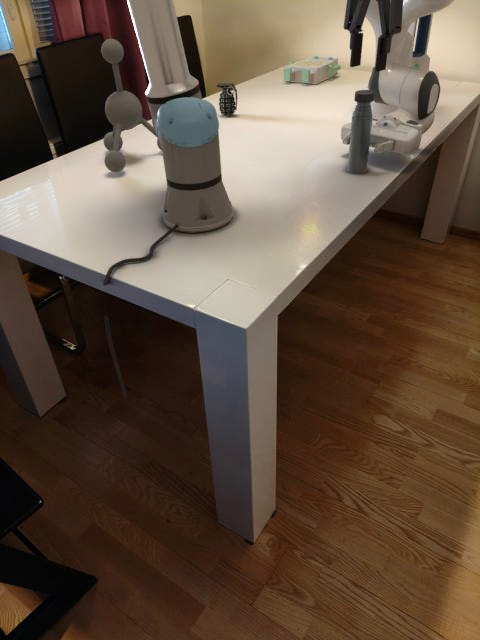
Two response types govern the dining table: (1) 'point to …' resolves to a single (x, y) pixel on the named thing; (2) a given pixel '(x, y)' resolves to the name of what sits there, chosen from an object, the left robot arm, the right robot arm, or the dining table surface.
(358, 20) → the left robot arm
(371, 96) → the cap
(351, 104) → the dining table surface
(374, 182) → the dining table surface
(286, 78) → the decorative block
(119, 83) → the molecular model
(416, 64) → the electronic device
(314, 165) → the dining table surface
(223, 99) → the grenade
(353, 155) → the bottle
